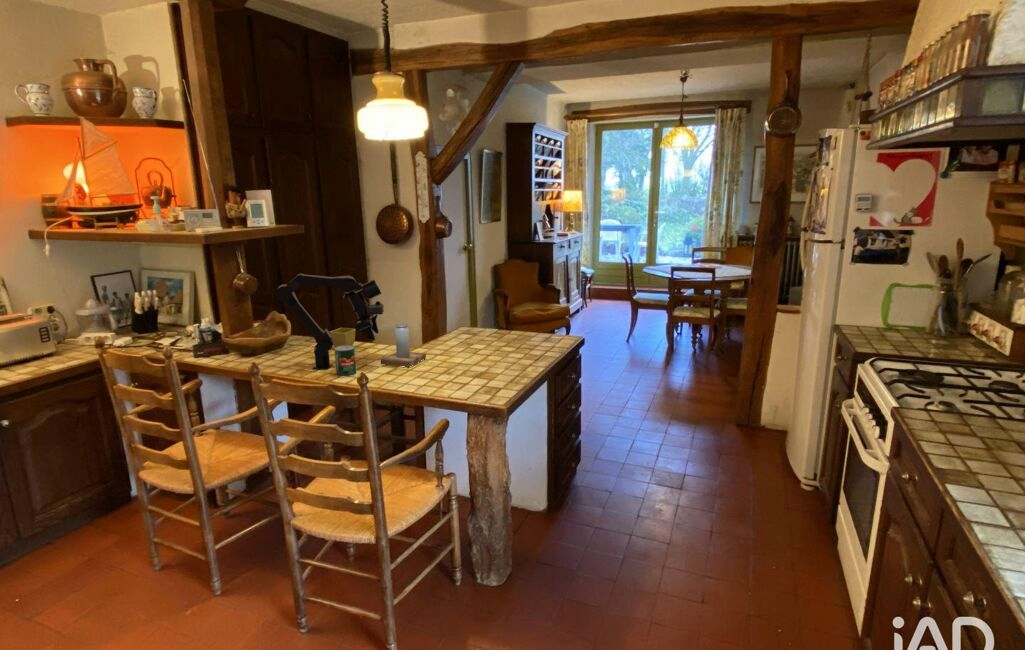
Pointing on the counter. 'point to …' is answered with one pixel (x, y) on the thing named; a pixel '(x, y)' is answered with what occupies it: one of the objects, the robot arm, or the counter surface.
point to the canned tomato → (345, 360)
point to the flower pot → (343, 336)
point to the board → (403, 359)
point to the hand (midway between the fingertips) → (375, 336)
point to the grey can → (402, 341)
